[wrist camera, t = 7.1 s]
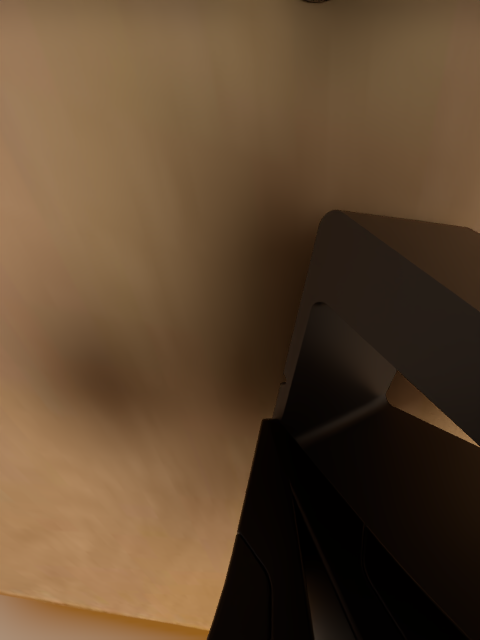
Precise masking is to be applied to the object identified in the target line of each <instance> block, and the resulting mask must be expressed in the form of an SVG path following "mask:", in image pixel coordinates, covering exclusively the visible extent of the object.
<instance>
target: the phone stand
mask: <svg viewBox="0 0 480 640" xmlns="http://www.w3.org/2000/svg"><path fill="white" fill-rule="evenodd" d="M397 370H398V371H399V372H400V373H401V374H402V375H403V376H404V377H406V378H407V379H408V380H409V381H410V382H411V383H412V384H413V385H414V386H415V387H416V388H417V389H418V390H420V391H421V392H422V393H423V394H424V395H425V396H426V397H427V398H428V399H429V400H430V401H431V402H433V403H434V404H435V405H436V406H437V407H438V408H439V409H440V410H441V411H442V412H443V413H444V414H445V415H447V416H448V417H449V418H450V419H451V420H452V421H453V422H454V423H455V424H456V425H457V426H458V427H460V428H461V429H462V430H463V431H464V432H465V433H466V434H467V435H468V436H469V437H470V438H471V439H473V440H474V441H475V442H476V443H477V444H478V445H479V446H480V234H479V233H478V232H476V231H474V230H472V229H470V228H467V227H460V226H453V225H445V224H438V223H430V222H423V221H416V220H408V219H401V218H393V217H386V216H378V215H371V214H363V213H356V212H348V211H341V210H332V211H330V212H328V213H327V214H326V215H325V216H324V217H323V218H322V220H321V222H320V224H319V227H318V231H317V235H316V240H315V244H314V248H313V252H312V256H311V260H310V264H309V269H308V273H307V277H306V281H305V285H304V289H303V293H302V297H301V302H300V306H299V310H298V314H297V318H296V322H295V326H294V331H293V335H292V339H291V343H290V347H289V351H288V355H287V360H286V364H285V368H284V372H283V373H284V375H285V377H286V382H284V383H281V384H280V388H279V393H278V397H277V401H276V405H275V409H274V413H273V417H272V419H274V418H276V419H278V420H279V421H280V422H281V423H282V424H283V425H284V427H285V428H286V429H287V430H288V431H289V433H290V434H291V435H292V436H293V437H294V439H295V440H296V441H297V442H298V443H299V445H300V446H301V447H302V448H303V449H304V451H305V452H306V453H307V454H308V455H309V457H310V458H311V459H312V460H313V461H314V463H315V464H316V465H317V466H318V467H319V469H320V470H321V471H322V472H323V473H324V475H325V476H326V477H327V478H328V479H329V481H330V482H331V483H332V484H333V485H334V487H335V488H336V489H337V490H338V491H339V493H340V494H341V495H342V496H343V497H344V499H345V500H346V501H347V502H348V503H349V505H350V506H351V507H352V508H353V509H354V511H355V512H356V513H357V514H358V515H359V517H360V518H361V519H362V520H363V521H364V523H365V526H368V527H369V528H370V530H371V531H372V532H373V533H374V534H375V536H376V537H377V538H378V539H379V540H380V542H381V543H382V544H383V545H384V546H385V547H386V549H387V550H388V551H389V552H390V553H391V554H392V556H393V557H394V558H395V559H396V560H397V561H398V562H399V564H400V565H401V566H402V567H403V568H404V569H405V570H406V571H407V573H408V574H409V575H410V576H411V577H412V578H413V579H414V580H415V581H416V582H417V583H418V584H419V585H420V586H421V588H422V589H423V590H424V591H425V592H426V593H427V594H428V595H429V596H430V597H431V598H432V599H433V600H434V601H435V602H436V603H437V604H438V606H439V607H440V608H441V609H442V610H443V611H444V612H445V613H446V614H447V615H448V616H449V617H450V618H451V619H452V620H453V621H454V622H455V623H456V624H457V625H458V626H459V627H460V628H461V629H462V630H463V631H464V633H465V634H466V635H467V636H468V637H469V638H470V639H471V640H480V447H478V446H476V445H474V444H471V443H469V442H467V441H465V440H463V439H461V438H459V437H457V436H455V435H453V434H450V433H448V432H446V431H444V430H442V429H440V428H438V427H436V426H434V425H431V424H429V423H427V422H425V421H423V420H421V419H419V418H417V417H415V416H412V415H410V414H408V413H406V412H404V411H402V410H400V409H398V408H396V407H393V406H392V405H390V404H389V403H388V401H387V399H386V392H387V390H388V388H389V386H390V384H391V382H392V380H393V377H394V375H395V373H396V371H397Z"/></svg>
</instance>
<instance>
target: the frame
mask: <svg viewBox="0 0 480 640" xmlns="http://www.w3.org/2000/svg"><path fill="white" fill-rule="evenodd" d="M306 1H310V2H322V1H326V0H306Z"/></svg>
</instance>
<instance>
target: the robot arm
mask: <svg viewBox="0 0 480 640" xmlns="http://www.w3.org/2000/svg"><path fill="white" fill-rule="evenodd" d="M207 640H471V639H470V638H469V637H468V636H467V635H466V634H465V633H464V631H463V630H462V629H461V628H460V627H459V626H458V625H457V624H456V623H455V622H454V621H453V620H452V619H451V618H450V617H449V616H448V615H447V614H446V613H445V612H444V611H443V610H442V609H441V608H440V607H439V606H438V604H437V603H436V602H435V601H434V600H433V599H432V598H431V597H430V596H429V595H428V594H427V593H426V592H425V591H424V590H423V589H422V588H421V586H420V585H419V584H418V583H417V582H416V581H415V580H414V579H413V578H412V577H411V576H410V575H409V574H408V573H407V571H406V570H405V569H404V568H403V567H402V566H401V565H400V564H399V562H398V561H397V560H396V559H395V558H394V557H393V556H392V554H391V553H390V552H389V551H388V550H387V549H386V547H385V546H384V545H383V544H382V543H381V542H380V540H379V539H378V538H377V537H376V536H375V534H374V533H373V532H372V531H371V530H370V528H369V527H368V526H365V523H364V521H363V520H362V519H361V518H360V517H359V515H358V514H357V513H356V512H355V511H354V509H353V508H352V507H351V506H350V505H349V503H348V502H347V501H346V500H345V499H344V497H343V496H342V495H341V494H340V493H339V491H338V490H337V489H336V488H335V487H334V485H333V484H332V483H331V482H330V481H329V479H328V478H327V477H326V476H325V475H324V473H323V472H322V471H321V470H320V469H319V467H318V466H317V465H316V464H315V463H314V461H313V460H312V459H311V458H310V457H309V455H308V454H307V453H306V452H305V451H304V449H303V448H302V447H301V446H300V445H299V443H298V442H297V441H296V440H295V439H294V437H293V436H292V435H291V434H290V433H289V431H288V430H287V429H286V428H285V427H284V425H283V424H282V423H281V422H280V421H279V420H278V419H276V418H274V419H263V420H262V422H261V426H260V431H259V435H258V440H257V444H256V449H255V453H254V458H253V462H252V467H251V471H250V476H249V480H248V485H247V489H246V494H245V498H244V503H243V507H242V512H241V516H240V521H239V525H238V530H237V535H236V538H235V543H234V547H233V552H232V556H231V560H230V564H229V568H228V572H227V576H226V580H225V584H224V587H223V590H222V593H221V596H220V600H219V603H218V606H217V609H216V613H215V616H214V619H213V622H212V625H211V628H210V631H209V634H208V637H207Z"/></svg>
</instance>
